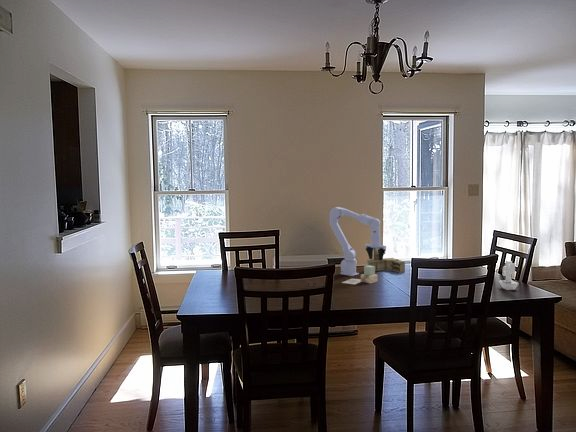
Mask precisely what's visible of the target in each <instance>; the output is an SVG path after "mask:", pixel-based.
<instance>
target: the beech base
mask: <svg viewBox="0 0 576 432" xmlns="http://www.w3.org/2000/svg"><path fill="white" fill-rule="evenodd" d="M378 276H379V275H378V274H376V273H375V275H372V276H368V275H364V273H362V274H360V280H361V282H360V283H367V284H373V283H377V282H378V281H379V279H378V278H379V277H378Z"/></svg>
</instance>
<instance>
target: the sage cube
mask: <svg viewBox="0 0 576 432" xmlns="http://www.w3.org/2000/svg"><path fill="white" fill-rule="evenodd" d="M363 274H364V275H368V276H372V275H375V274H376V271H375V266H371V265H364V266H363Z"/></svg>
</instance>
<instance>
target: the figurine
mask: <svg viewBox="0 0 576 432" xmlns="http://www.w3.org/2000/svg"><path fill="white" fill-rule="evenodd" d="M515 273H516V264H515V263H513V261H512V260H505V264H504V266H502V276H503V277H505V279H504V280H498V282H499V284H500V286H501V288H502V289H504V290H506V291H510V290H511V291H513V290H516V288H517V287H518V286H519V282H517V281H515V280H512V275H513V274H515Z"/></svg>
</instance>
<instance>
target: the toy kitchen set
mask: <svg viewBox="0 0 576 432" xmlns="http://www.w3.org/2000/svg"><path fill="white" fill-rule="evenodd" d="M384 255H386V252H385V253H384ZM405 262H406V261H403V260H400V259H398V258H394V257H386V258H384V257H383V259H382V260H381V261H379V253H378V248H373V258H372V259H367V261H366V263H367V265H371V266H375V272H377V271H378V272H379V271H380V272H381V271H393V272H395V273H398V272H399V273H400V274H404V272H405V273H406V263H405ZM367 265H366V266H367Z"/></svg>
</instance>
